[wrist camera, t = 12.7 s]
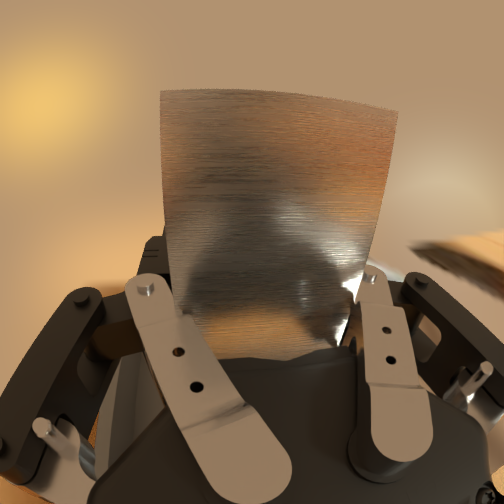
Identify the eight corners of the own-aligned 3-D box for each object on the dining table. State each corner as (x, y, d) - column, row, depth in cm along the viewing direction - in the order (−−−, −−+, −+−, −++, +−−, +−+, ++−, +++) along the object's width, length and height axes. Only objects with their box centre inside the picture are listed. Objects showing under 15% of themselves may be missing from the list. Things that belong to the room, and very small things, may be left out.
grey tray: (319, 326, 23) (331, 280, 20) (385, 489, 11) (425, 464, 9) (138, 336, 21) (126, 289, 18) (124, 522, 9) (90, 508, 7)
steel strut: (281, 357, 17) (320, 96, 10) (301, 430, 13) (398, 111, 5) (196, 363, 16) (180, 89, 9) (200, 440, 12) (159, 90, 5)
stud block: (448, 312, 24) (471, 265, 21) (531, 436, 11) (576, 392, 8) (346, 331, 22) (365, 274, 19) (428, 514, 9) (490, 484, 6)
